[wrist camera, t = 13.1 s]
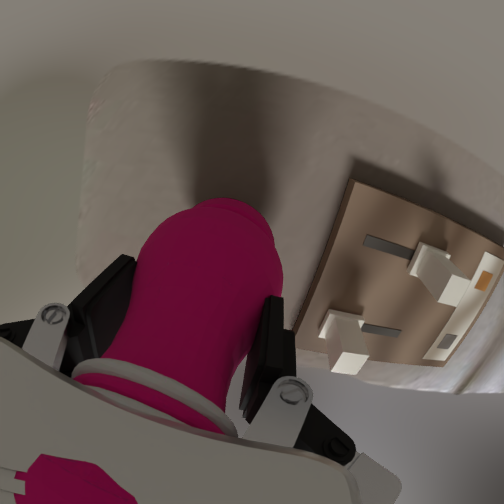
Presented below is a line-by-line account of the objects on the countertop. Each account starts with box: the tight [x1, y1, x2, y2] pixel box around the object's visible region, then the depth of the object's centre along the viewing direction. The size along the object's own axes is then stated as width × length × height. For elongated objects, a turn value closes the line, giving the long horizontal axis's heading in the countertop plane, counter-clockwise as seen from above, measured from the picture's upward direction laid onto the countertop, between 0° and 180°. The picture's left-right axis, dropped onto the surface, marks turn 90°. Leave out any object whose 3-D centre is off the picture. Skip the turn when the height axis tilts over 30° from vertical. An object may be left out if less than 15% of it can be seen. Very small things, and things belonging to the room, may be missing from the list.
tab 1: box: [318, 309, 369, 375], centre depth 18 cm, size 3×2×4 cm
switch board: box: [292, 178, 504, 367], centre depth 20 cm, size 18×14×2 cm
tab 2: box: [406, 242, 471, 307], centre depth 15 cm, size 3×2×4 cm
